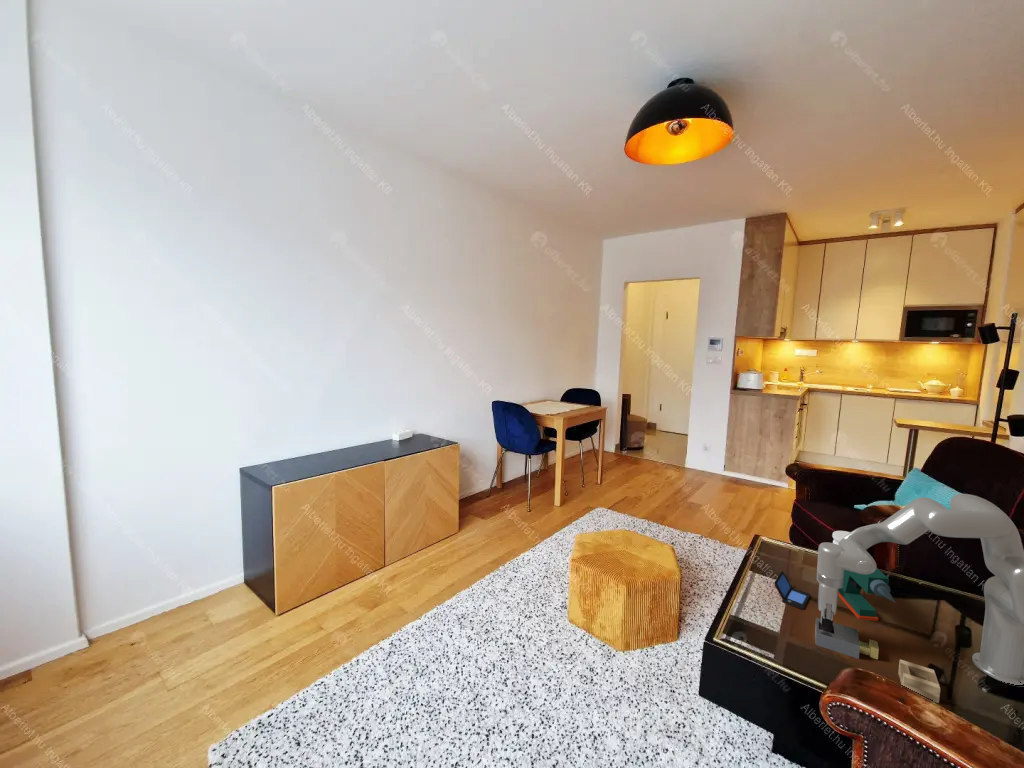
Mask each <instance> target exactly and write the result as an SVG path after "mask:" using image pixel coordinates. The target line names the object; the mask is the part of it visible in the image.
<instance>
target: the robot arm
mask: <svg viewBox="0 0 1024 768" xmlns="http://www.w3.org/2000/svg"><path fill="white" fill-rule="evenodd" d="M949 507H950V509H949V508H948V507H946V506H944V505H943V504H941V503H940V502H939V501H936V500H934V499H932V498H930V497H929V498H928V497H917V498H916V499H913V500H912V501H911V502H909V503H907V504H906V505H905V506H903V507H902V508H900V509H899V510H898V511H896V512H895V513H894V514H892V515H891V516H889V517H887V518H886V519H885V520H883V521H881V522H879V523H872V524H869V525H865V526H860V527H857V528H855V529H854V530H852V531H850V532H851V533H849V534H848V535H847V536H845V537H844V538H843V539H842V540H841V541H840V542H839V544H838V545H837V544H834V543H833V542H825V541H824V542H821V543H820V544H819V545H818V549H817V566H816V581H817V582H818V583H819V584H818V596H817V606H818V607H817V608H818V611H820V612H821V611H822V612H823V616H822V622H821V627H822V628H825V629H829V630H833V622H834V619H833V616H835V615H836V614H837V607H838V598H839V596H838V589H839V588H842V587H843V578H844V570H848V571H851V572H855V573H858V574H871V573H873V572H875V570H876V568H878V567H877V563H876V561H875V559H874V558H873V556H872V555H871V554H870V553H869V552H868V551H867V550H868V549H869V548H870V547H872V546H874V545H876V544H879V543H880V544H881V543H893V544H894V543H895V544H899V545H909V544H910V543H912V542H914V541H915V540H916V539H918V538H919V537H921V536H923V535H924V534H925V533H927V532H928V531H929V532H930V533H932V534H934V535H937V536H941V537H946V538H960V539H961V538H963V539H980V542H981V547H982V552H983V559H984V563H985V564H984V565H985V566H986V568H987V569H988V570H989V572H990V573H992V574H993V575H994V576H991V577H989V578H988V579H986V581H985V583H984V586H983V595H984V596H983V597H984V601H985V605H984V606H985V607H984V608H985V610H984V618H983V619H984V620H983V627H982V635H981V642H980V650H979V651H978V652H975V653H973V654H972V656H971V657H972V658H971V661H972V663H973V664H974V666H975V667H976V668H977V669H979V671H982V672H983V673H984V674H986V675H987V676H989V677H991V678H993V679H995V680H997V681H999V682H1001V681H1002V683H1004V682H1005V683H1004V684H1007V683H1010V684H1009V685H1011V684H1014V685H1013V686H1015V685H1023V684H1024V546H1023V543H1022V539H1021V535H1020V533H1019V530H1018V528H1017V526H1016V525H1015V524H1014V522H1013V521H1012V519H1011V518H1010V517H1009V516H1008V515H1007V513H1005V512H1004V511H1003V510H1002V509H1000V508H999V507H998V506H997V505H996V504H994V503H993V502H991V501H989V500H987V499H985V498H982V497H980V496H978V495H974V494H968V493H959V494H954V495H953V496H952V497H951V498H950V501H949ZM825 612H826V614H825ZM1020 682H1021V683H1020Z"/></svg>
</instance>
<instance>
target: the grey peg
mask: <svg viewBox="0 0 1024 768" xmlns="http://www.w3.org/2000/svg"><path fill="white" fill-rule="evenodd" d="M825 614H826V612H825ZM822 616H823V612H822V611H820V619H821V622H822ZM820 630H823V631H827V632H830V633H832V630H829V629H825V628H822V627H821V629H820Z"/></svg>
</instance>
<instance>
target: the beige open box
mask: <svg viewBox="0 0 1024 768" xmlns="http://www.w3.org/2000/svg"><path fill="white" fill-rule="evenodd" d="M898 677H899V681H900V686H901V685H903V686H905V687H907V688H909V689H911V690H913V691H915V692H917V693H919V694H921V695H923V696H925V697H927V698H929V699H931V700H933V701H932V702H934V703H938V704H940V696H941V687H940V682H939V681H938V680H939V679H938V678H937V675H936V672H935V670H934V669H932V668H929V667H925V666H923V665H921V664H920V665H919V664H916V663H913V662H910V661H907V660H904V659H899V664H898ZM931 700H930V701H931Z"/></svg>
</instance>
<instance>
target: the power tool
mask: <svg viewBox="0 0 1024 768" xmlns="http://www.w3.org/2000/svg"><path fill="white" fill-rule="evenodd" d="M889 582H890V578H889V577H888V576H887V575H885V573H883V572H882V570H880V569H879V568H878V567H876V570H875V572H873V573H871V574H858V573H855V572H851V571H848V570H844V578H843V587H842V588H839V589H838V598H840V599H841V600H842V602H843V603H844V604H845V605H846V606H847V608H848V609H849V610H850V611H851V612H852V613H853V614H854V616H855V617H856V618H857V620H863V621H865V620H866V621H875V622H878V621H879V617H878V616H877V610H876V609H875V607H874V606H872V605H871V603H869V601H867V599H866V598H865V597H864V596H863V595H862V594H861V592H862V590H863V591H864V592H865V593H866V594H871V595H876V596H879V597H885V598H886V599H888V600H889V601H891V602H893V603H895V604H896V601H895V599H894V598H893V596H892V594H891V593H890V592H891V587H890V585H889Z"/></svg>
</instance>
